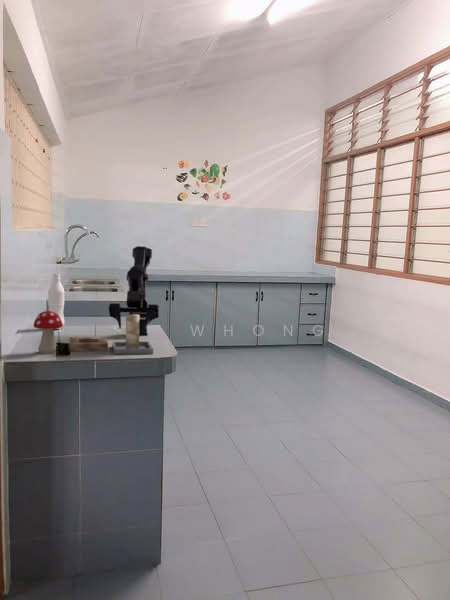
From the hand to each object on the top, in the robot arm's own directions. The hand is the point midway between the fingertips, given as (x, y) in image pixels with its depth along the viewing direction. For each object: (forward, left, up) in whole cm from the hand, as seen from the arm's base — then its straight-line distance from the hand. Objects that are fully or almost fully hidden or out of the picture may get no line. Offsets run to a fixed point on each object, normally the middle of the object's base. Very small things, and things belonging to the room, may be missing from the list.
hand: (132, 328), depth 187 cm
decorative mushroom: (+30, 0, -9) cm, 31 cm away
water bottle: (+30, -49, -9) cm, 58 cm away
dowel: (0, -1, -8) cm, 8 cm away
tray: (0, -1, -8) cm, 9 cm away
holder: (+16, -8, -8) cm, 20 cm away
